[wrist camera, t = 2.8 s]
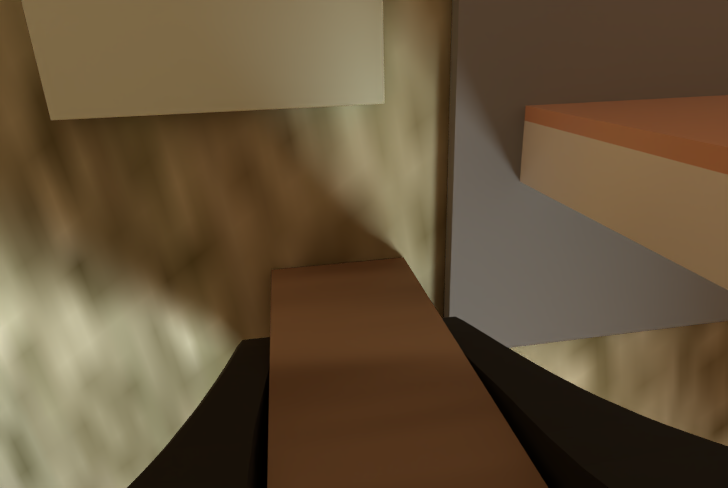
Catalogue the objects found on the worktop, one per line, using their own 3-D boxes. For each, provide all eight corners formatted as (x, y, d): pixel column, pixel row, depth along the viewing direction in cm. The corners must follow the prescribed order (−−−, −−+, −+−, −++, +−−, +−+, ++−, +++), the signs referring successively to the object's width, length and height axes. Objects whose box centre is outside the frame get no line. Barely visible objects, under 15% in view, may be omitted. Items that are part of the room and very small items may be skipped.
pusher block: (403, 367, 13) (583, 805, 5) (283, 383, 12) (294, 877, 5) (403, 257, 12) (625, 610, 4) (271, 269, 11) (263, 686, 4)
